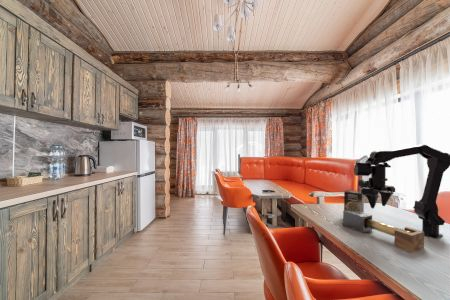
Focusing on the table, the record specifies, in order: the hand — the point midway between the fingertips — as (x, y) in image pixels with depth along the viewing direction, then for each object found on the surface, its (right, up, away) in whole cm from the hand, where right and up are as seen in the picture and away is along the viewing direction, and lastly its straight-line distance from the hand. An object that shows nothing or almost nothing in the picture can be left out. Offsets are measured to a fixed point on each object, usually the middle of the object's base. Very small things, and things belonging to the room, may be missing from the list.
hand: (378, 207), depth 104 cm
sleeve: (-8, -12, +3) cm, 15 cm away
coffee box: (-2, -12, +17) cm, 21 cm away
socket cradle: (+1, -12, -17) cm, 21 cm away
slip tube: (-3, -10, -8) cm, 13 cm away
